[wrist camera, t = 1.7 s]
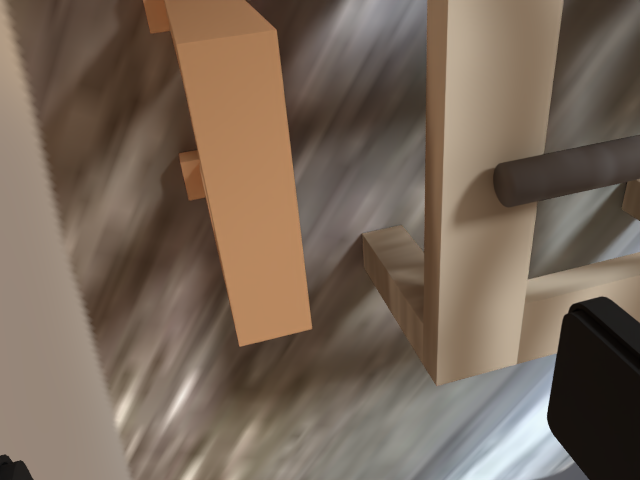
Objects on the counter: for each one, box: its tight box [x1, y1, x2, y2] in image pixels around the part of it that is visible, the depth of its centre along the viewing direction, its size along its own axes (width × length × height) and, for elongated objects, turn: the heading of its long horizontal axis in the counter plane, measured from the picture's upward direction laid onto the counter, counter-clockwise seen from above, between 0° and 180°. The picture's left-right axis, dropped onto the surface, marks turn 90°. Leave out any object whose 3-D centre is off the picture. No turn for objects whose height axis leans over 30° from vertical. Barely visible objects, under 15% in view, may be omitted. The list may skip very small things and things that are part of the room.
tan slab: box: [143, 0, 312, 347], centre depth 21 cm, size 4×10×13 cm, turn 7°
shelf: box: [362, 0, 640, 386], centre depth 26 cm, size 20×20×12 cm
